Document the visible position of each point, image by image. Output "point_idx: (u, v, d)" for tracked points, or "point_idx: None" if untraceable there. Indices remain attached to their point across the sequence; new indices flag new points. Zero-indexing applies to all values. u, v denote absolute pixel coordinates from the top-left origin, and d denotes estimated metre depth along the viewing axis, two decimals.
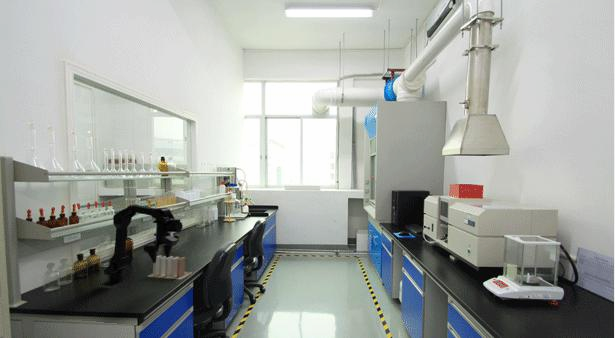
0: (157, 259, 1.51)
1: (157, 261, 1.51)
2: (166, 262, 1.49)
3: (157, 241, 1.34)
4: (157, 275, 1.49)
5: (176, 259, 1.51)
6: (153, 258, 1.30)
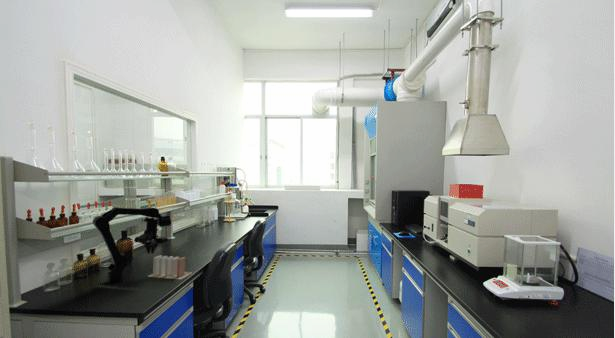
0: (157, 259, 1.51)
1: (157, 261, 1.51)
2: (166, 262, 1.49)
3: None
4: (157, 275, 1.49)
5: (176, 259, 1.51)
6: None
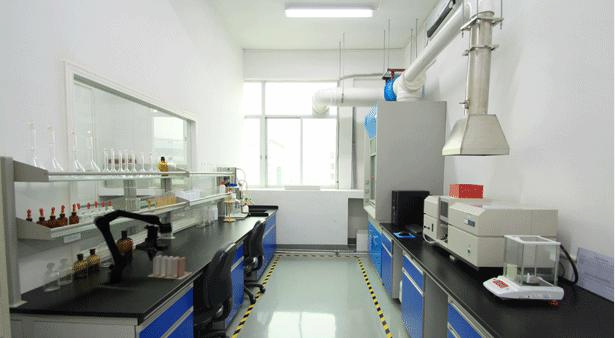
0: (157, 259, 1.51)
1: (157, 261, 1.51)
2: (166, 262, 1.49)
3: None
4: (157, 275, 1.49)
5: (176, 259, 1.51)
6: None
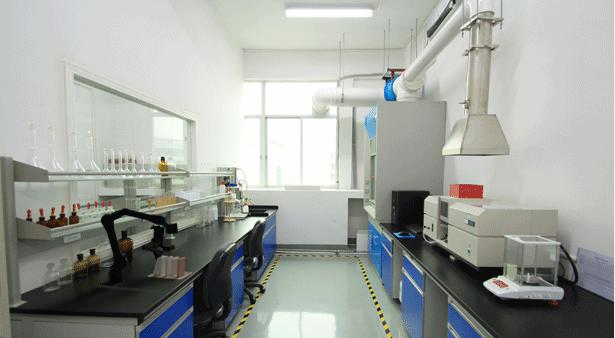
0: None
1: None
2: (166, 262, 1.49)
3: None
4: (157, 275, 1.49)
5: (176, 259, 1.51)
6: None
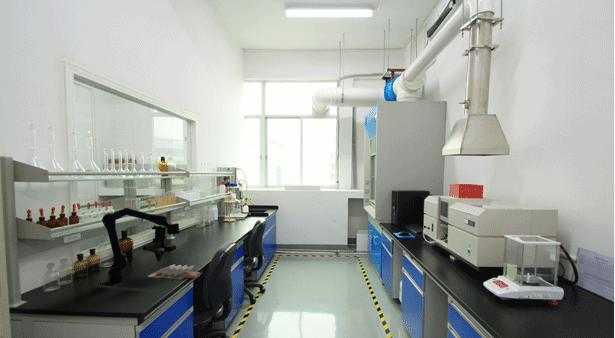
0: None
1: (168, 269, 1.50)
2: (178, 270, 1.47)
3: None
4: (157, 275, 1.49)
5: None
6: None
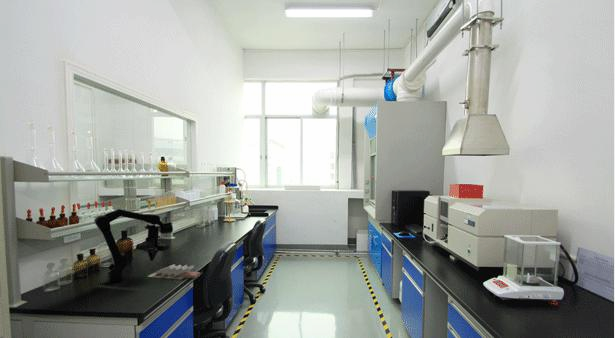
0: None
1: (168, 269, 1.50)
2: (178, 270, 1.47)
3: None
4: (157, 275, 1.49)
5: None
6: None
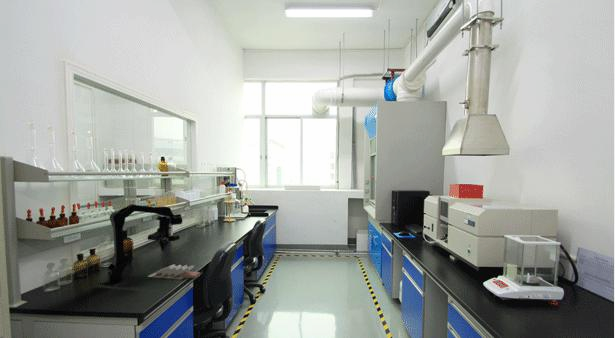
0: None
1: (168, 269, 1.50)
2: (178, 270, 1.47)
3: None
4: (157, 275, 1.49)
5: None
6: None
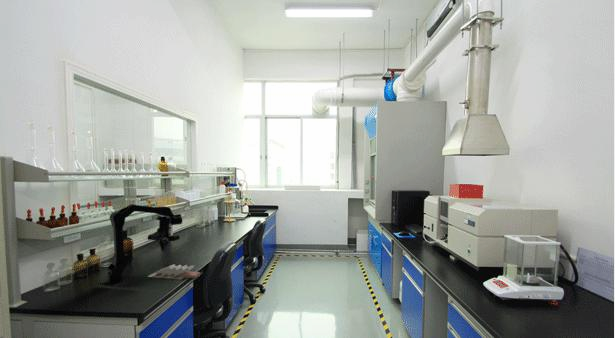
0: None
1: (168, 269, 1.50)
2: (178, 270, 1.47)
3: None
4: (157, 275, 1.49)
5: None
6: None
